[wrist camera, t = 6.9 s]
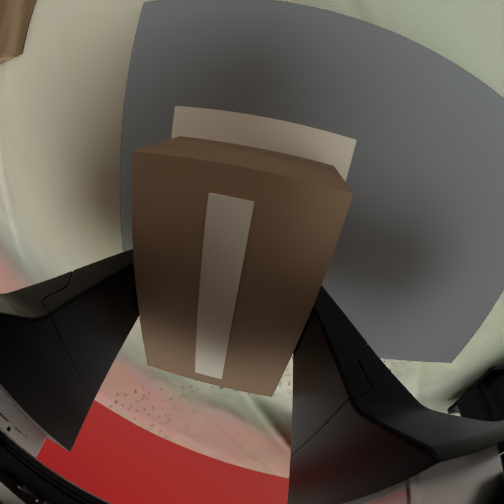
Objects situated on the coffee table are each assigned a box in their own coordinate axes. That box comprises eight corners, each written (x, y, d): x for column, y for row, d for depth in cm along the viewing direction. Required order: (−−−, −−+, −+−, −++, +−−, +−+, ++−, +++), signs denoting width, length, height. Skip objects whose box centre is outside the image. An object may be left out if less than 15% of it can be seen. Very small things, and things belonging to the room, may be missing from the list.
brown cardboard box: (277, 341, 12) (271, 398, 9) (172, 316, 12) (146, 366, 10) (333, 165, 8) (354, 194, 5) (180, 136, 8) (130, 152, 5)
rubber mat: (550, 147, 7) (557, 150, 6) (449, 357, 15) (452, 363, 14) (149, 5, 7) (142, 1, 7) (132, 299, 15) (128, 305, 15)
